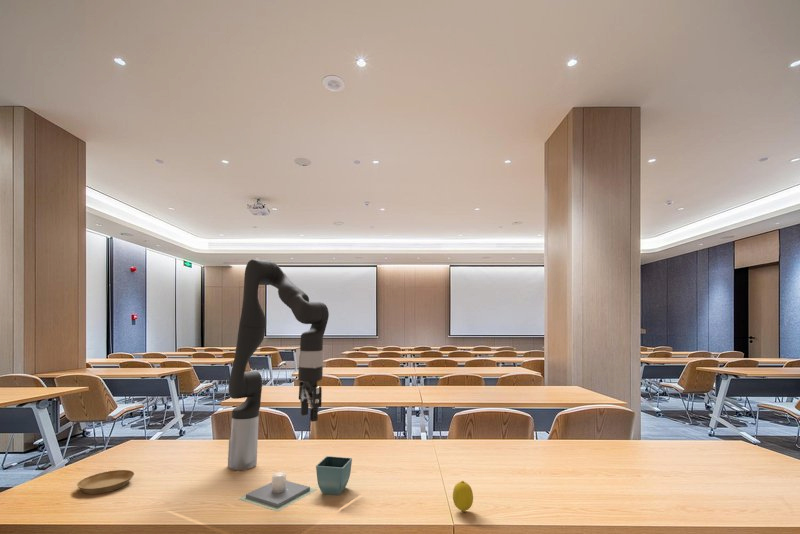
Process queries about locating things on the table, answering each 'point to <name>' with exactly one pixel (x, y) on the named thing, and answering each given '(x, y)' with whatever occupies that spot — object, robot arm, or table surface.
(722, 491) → the table surface
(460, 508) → the lemon
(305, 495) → the mat
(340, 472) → the flower pot
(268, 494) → the lid
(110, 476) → the plant saucer
